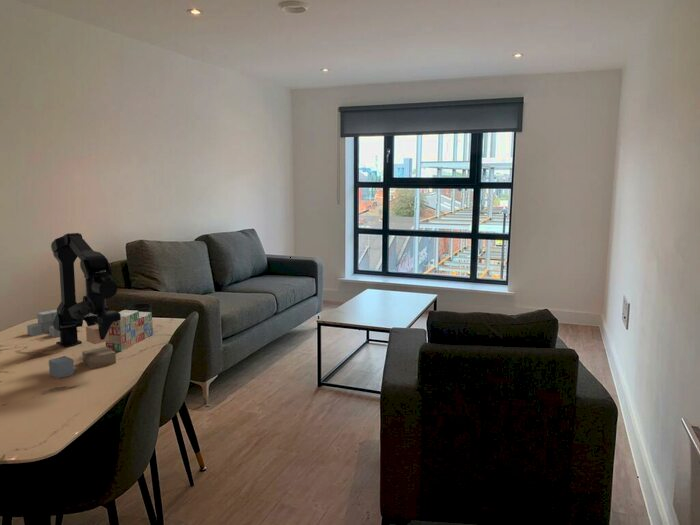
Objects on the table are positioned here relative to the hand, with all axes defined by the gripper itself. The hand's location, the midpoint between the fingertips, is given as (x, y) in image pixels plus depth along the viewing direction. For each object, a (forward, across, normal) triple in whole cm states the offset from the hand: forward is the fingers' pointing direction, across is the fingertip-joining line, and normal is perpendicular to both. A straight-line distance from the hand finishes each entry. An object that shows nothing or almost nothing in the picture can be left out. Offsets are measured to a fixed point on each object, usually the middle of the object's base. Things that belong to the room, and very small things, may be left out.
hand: (98, 337), depth 174 cm
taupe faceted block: (+9, 0, 0) cm, 9 cm away
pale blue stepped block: (+9, -44, +6) cm, 46 cm away
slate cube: (+9, +1, -13) cm, 16 cm away
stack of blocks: (+9, -11, +19) cm, 24 cm away
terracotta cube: (+1, 0, 0) cm, 1 cm away
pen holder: (+9, -23, +31) cm, 40 cm away
